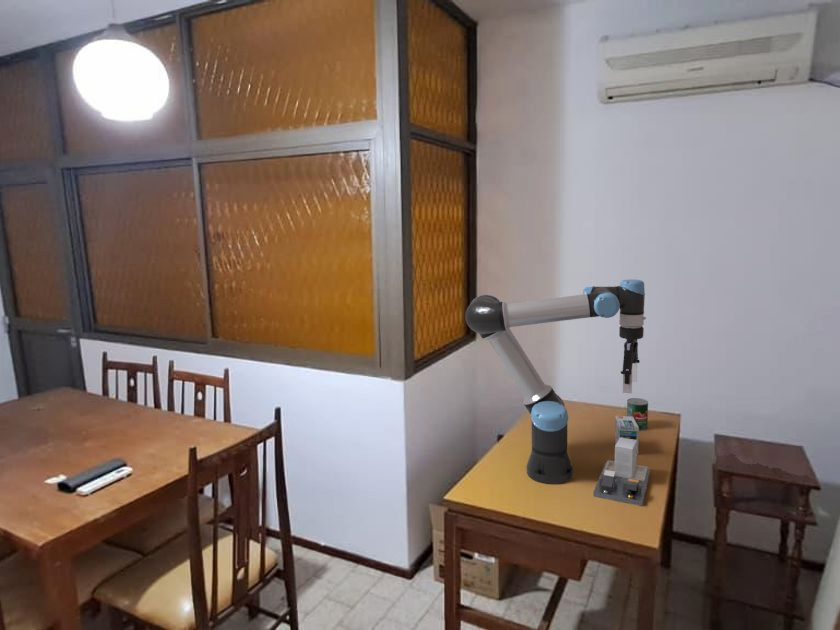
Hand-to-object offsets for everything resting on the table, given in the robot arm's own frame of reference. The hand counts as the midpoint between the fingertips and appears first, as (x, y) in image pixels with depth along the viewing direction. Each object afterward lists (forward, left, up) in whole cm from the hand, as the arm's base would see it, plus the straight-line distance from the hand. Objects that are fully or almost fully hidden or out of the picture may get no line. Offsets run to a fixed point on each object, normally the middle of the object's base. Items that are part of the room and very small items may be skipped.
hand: (629, 386), depth 182 cm
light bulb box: (+4, +9, -27) cm, 29 cm away
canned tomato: (+18, +27, -27) cm, 42 cm away
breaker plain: (-16, -18, -23) cm, 34 cm away
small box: (-7, -12, -25) cm, 29 cm away
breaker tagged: (-11, -22, -23) cm, 34 cm away
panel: (-10, -16, -27) cm, 33 cm away
